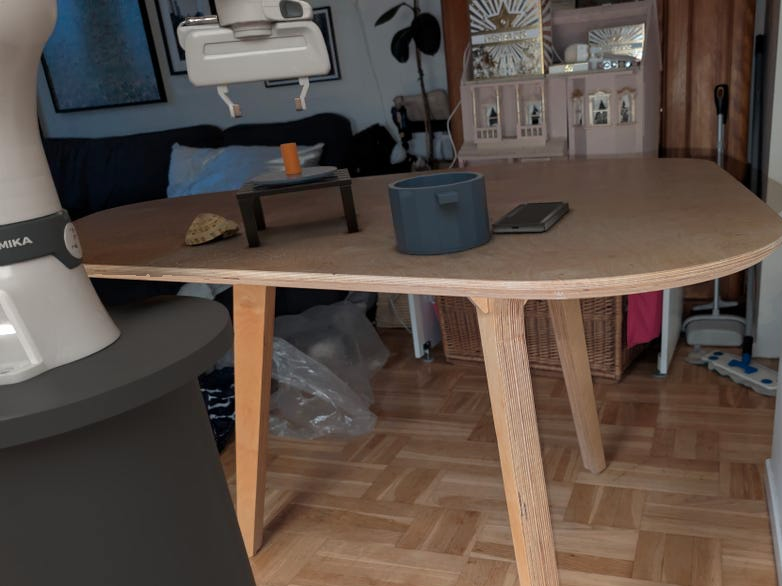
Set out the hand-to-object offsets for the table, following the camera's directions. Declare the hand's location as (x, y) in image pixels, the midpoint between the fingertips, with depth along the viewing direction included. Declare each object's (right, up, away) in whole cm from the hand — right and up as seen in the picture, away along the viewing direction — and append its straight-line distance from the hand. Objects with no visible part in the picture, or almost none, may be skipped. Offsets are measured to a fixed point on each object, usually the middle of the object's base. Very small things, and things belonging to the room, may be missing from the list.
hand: (269, 114), depth 105 cm
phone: (+39, -17, -3) cm, 43 cm away
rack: (+3, -16, +9) cm, 18 cm away
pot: (+27, -21, -10) cm, 35 cm away
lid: (+2, -8, +6) cm, 10 cm away
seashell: (-12, -17, +11) cm, 24 cm away
